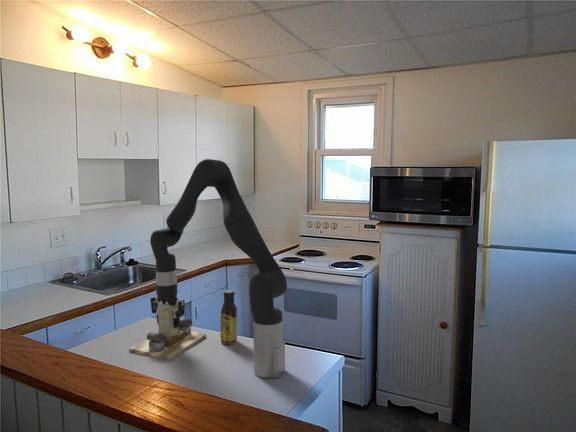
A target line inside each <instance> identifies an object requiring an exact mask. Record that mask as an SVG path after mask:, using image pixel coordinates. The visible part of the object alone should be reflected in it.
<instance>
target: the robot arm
mask: <svg viewBox="0 0 576 432" xmlns="http://www.w3.org/2000/svg"><path fill="white" fill-rule="evenodd" d="M207 188H215V190H216V192H217V193H218V196H219V198H220V199H221V202H222V208H223V209H222V210H223V211H222V218H223V225H224V227H225V229H226V232H227V233H228V235H229V237H230V240H231V241H232V243H233V244H234V245H235V246H236V247H237V248H238V249H239V250H241V252H243V253H244V254H245V255H246V256H248V257H249V258H250V259H251V260H252V261H253V263H254V264H255V266H256V267H257V269H258V272H256V273H254V274H253V275H252V276H251V277H250V280H249V285H248V287H249V288H248V289H249V302H250V303H249V304H250V305H249V306H250V312H251V314H252V317H253V320H252V321H253V322H252V323H253V325H252V327H253V330H252V331H253V369H254V370H253V373H254V375H256V376H257V377H260V378H263V379H264V378H265V379H272V378H277V379H278V378H279V377H280V376H281V375H282V374H283V373H284V372H285V371H286V343H285V341H283V312H282V310H281V309H279V308H278V307H275V305H274V299H276V298H279V297H280V296H283V295H284V294H285V293H286V292H287V289H288V281H287V278H286V275H285V274H284V272H283V270H282V269H281V267H280V265H279V264H278V263H277V262H278V261H276V259H275V257H274V256H273V254H272V253H271V251H270V250H269V248H268V246H267V244H266V243H265V241H264V239H263V237H262V235H261V233H260V231H259V228H258V227H257V224H256V223H255V221H254V219H253V217H252V215H251V213H250V212H249V210H248V208H247V206H246V204H245V201H244V200H243V198H242V196H241V194H240V192H239V190H238V186H237V184H236V182H235V179H234V176H233V174H232V172H231V169H230V167H229V166H228V164H227V163H226V162H225V161H222V160H221V159H220V160H219V159H211V158H204V159H202V160H200V161H199V162H198V163H197V164H196V165H195V167H194V168H193V171H192V173H191V176H190V178H189V180H188V182H187V184H186V186H185V188H184V190H183V192H182V194H181V196H180V197H179V199H178V201H177V203H176V205H175V206H174V208H173V209H172V210H171V212H170V213H169V214H168V215H167V217H166V220H165V221H166V223H165V224H166V225H167V226H166V227H164V228H158V229H156V230H153V232H152V233H151V235H150V239H149V240H150V242H149V243H150V247H151V250H152V254H153V255H154V259H155V286H156V287H155V291H156V294H155V295H154V296H152V297H150V308H151V313H152V314H155V316H156V322H157V325H158V326H159V324H158V311H160V305H162V304H166V305H172V306H174V305H175V304H177V306H178V308H176V309H174V310H173V309H172V308H171V313H172V315H173V317H174V328H177V327H179V325H180V318H182V317H183V316H185V306H186V305H185V303H186V301H185V299H178V291H179V290H178V274H177V261H176V256H175V254H173V253H170V252H169V250H168V248H170V247H174V246H175V245H176V244H177V243H178V242H179V241H180V240H181V237H182V235H183V233H184V230H185V228H186V226H187V225H188V223H189V222H190V221H191V220H192V219H193V217H194V214H196V209H197V202H198V199H199V197H200V195H201V194H202V193H203V192H204V191H205V190H206V189H207ZM158 303H159V306H158ZM175 311H176V312H177V314H176V313H175Z"/></svg>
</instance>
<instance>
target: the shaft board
mask: <svg viewBox="0 0 576 432" xmlns="http://www.w3.org/2000/svg"><path fill="white" fill-rule="evenodd" d="M192 325H193V320H192V319H190V318H189V319H188V318H184V317H183V318H182V317H180V325H179V327H178V335H175V336H173V337H170V338H168V337H166V336H165V334H159V332H152V331H149V332H148V333H147V335H146V338H145V339H143V340H142V341H140V342H138V343H136V344H134V345H133V346H131V347H129V348H128V353H132V354H139V355H143V356H148V357H154V358H157V359H163V360H168V361H171V360H172V359H174V358H176V357H177V356H178V355H180V354H182V353H183V352H185V351H187V350H188V349H189V348H191V347H193V346H194V345H195V343H196V344H198V343H199V342H200V341H202V340H203V338H204V337H205V338H207V334H206V333H203V332H202V333H201V332H196V331H192ZM205 338H204V339H205ZM201 339H202V340H201ZM198 341H199V342H198ZM192 345H193V346H192Z"/></svg>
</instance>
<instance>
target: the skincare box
mask: <svg viewBox="0 0 576 432" xmlns="http://www.w3.org/2000/svg"><path fill="white" fill-rule="evenodd" d="M158 306H159V303H158ZM171 308H172V309H173V310H174V309H176V308H178V306H177V304H175V305H174V306H172V305H166V304H162V305H160V311H158V323H157V325H158V324H159V325H158V333H159V334H165V336H166V337H168V338H170V337H173V336H175V335H178V327H177V328H174V317H173V315H172V313H171ZM175 313H176V314H177V312H176V311H175Z"/></svg>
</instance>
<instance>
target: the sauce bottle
mask: <svg viewBox="0 0 576 432" xmlns="http://www.w3.org/2000/svg"><path fill="white" fill-rule="evenodd" d="M222 295H223V304H222V307H221V310H220V319H219V321H220V323H219V324H220V328H219V329H220V337H219V338H220V342H221V344H224V345H228V346H229V345H234V344H236V343H237V341H238V308H237V306H236V304H235V290H234V289H225V290H223V294H222Z"/></svg>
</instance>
